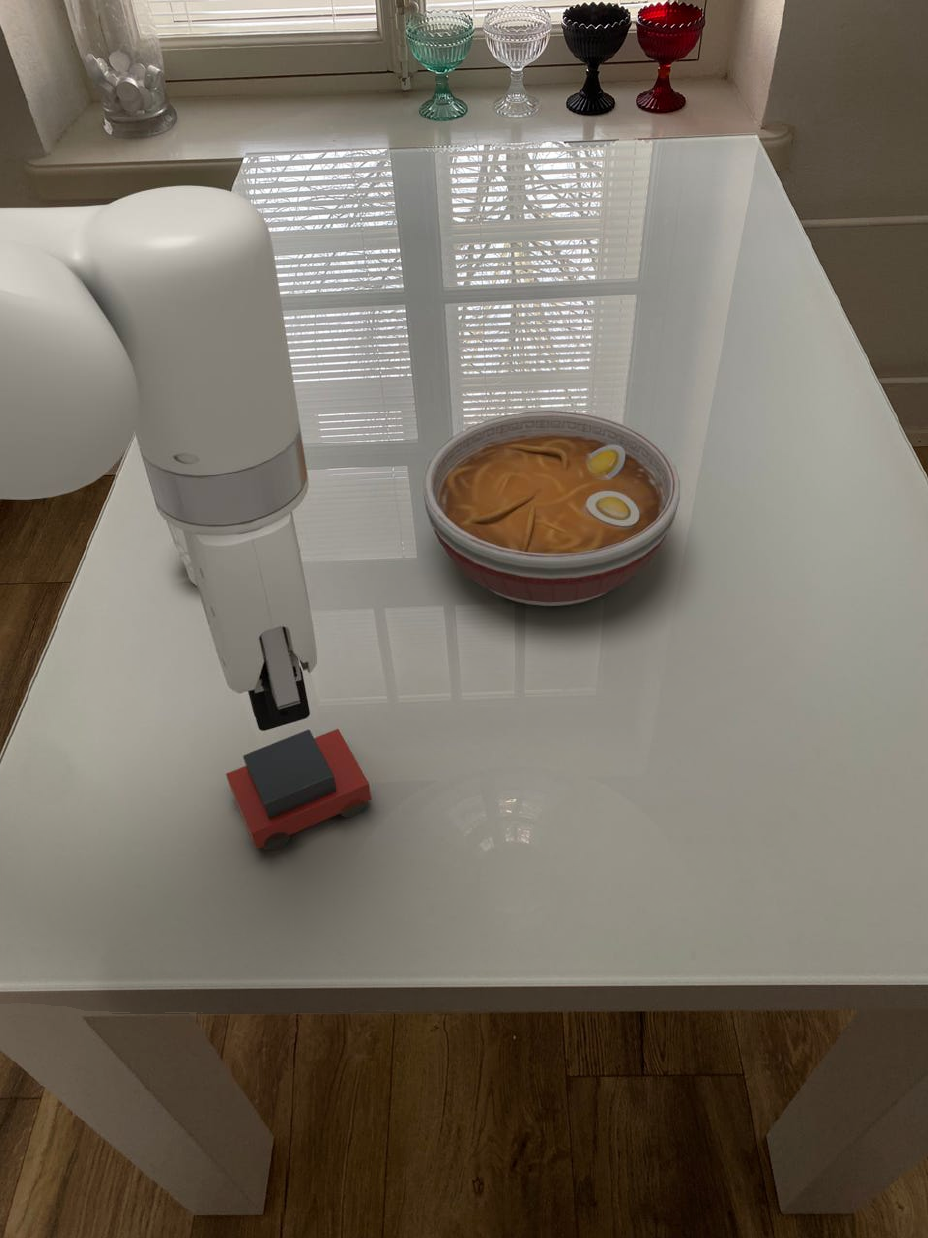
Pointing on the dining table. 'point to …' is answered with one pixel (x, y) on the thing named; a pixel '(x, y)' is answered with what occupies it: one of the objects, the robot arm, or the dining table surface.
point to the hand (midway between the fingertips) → (282, 715)
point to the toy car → (297, 786)
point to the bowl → (551, 504)
